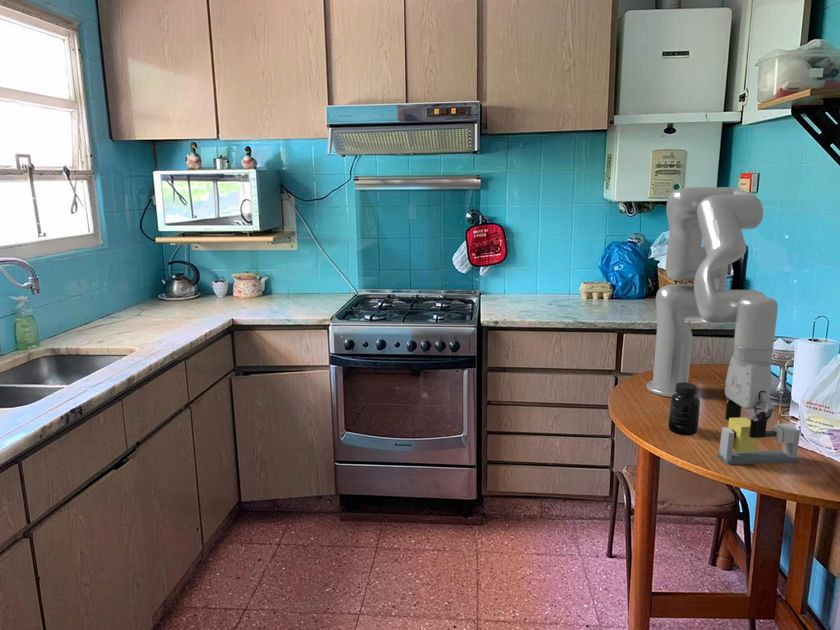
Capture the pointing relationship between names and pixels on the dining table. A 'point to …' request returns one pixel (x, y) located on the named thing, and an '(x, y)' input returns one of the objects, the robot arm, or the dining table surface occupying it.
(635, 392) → the dining table surface
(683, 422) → the supplement bottle
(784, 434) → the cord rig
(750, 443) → the olive yellow cube
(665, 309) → the robot arm
